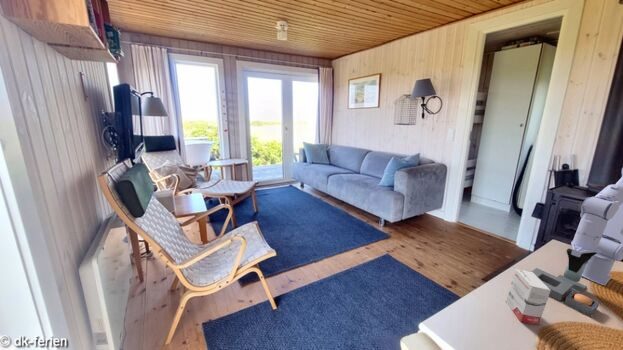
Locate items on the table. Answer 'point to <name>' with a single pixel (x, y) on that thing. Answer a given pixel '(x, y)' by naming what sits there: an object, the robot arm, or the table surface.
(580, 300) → the release button
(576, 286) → the slate mat
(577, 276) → the cylinder
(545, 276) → the socket block
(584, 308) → the button housing
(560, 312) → the table surface
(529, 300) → the ink box
